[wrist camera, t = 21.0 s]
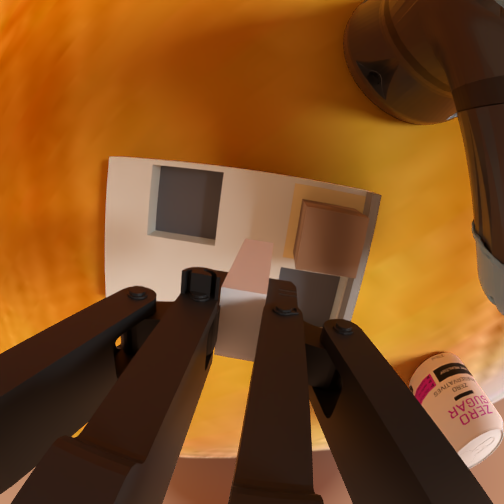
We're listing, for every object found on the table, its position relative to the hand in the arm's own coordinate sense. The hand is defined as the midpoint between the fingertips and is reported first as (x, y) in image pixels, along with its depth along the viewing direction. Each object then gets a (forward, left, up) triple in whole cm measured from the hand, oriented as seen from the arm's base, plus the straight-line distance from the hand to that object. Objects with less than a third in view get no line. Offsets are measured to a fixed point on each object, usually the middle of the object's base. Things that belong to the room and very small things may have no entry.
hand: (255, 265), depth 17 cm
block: (0, +5, -13) cm, 14 cm away
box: (+4, -3, -15) cm, 16 cm away
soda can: (+17, +26, -16) cm, 35 cm away
